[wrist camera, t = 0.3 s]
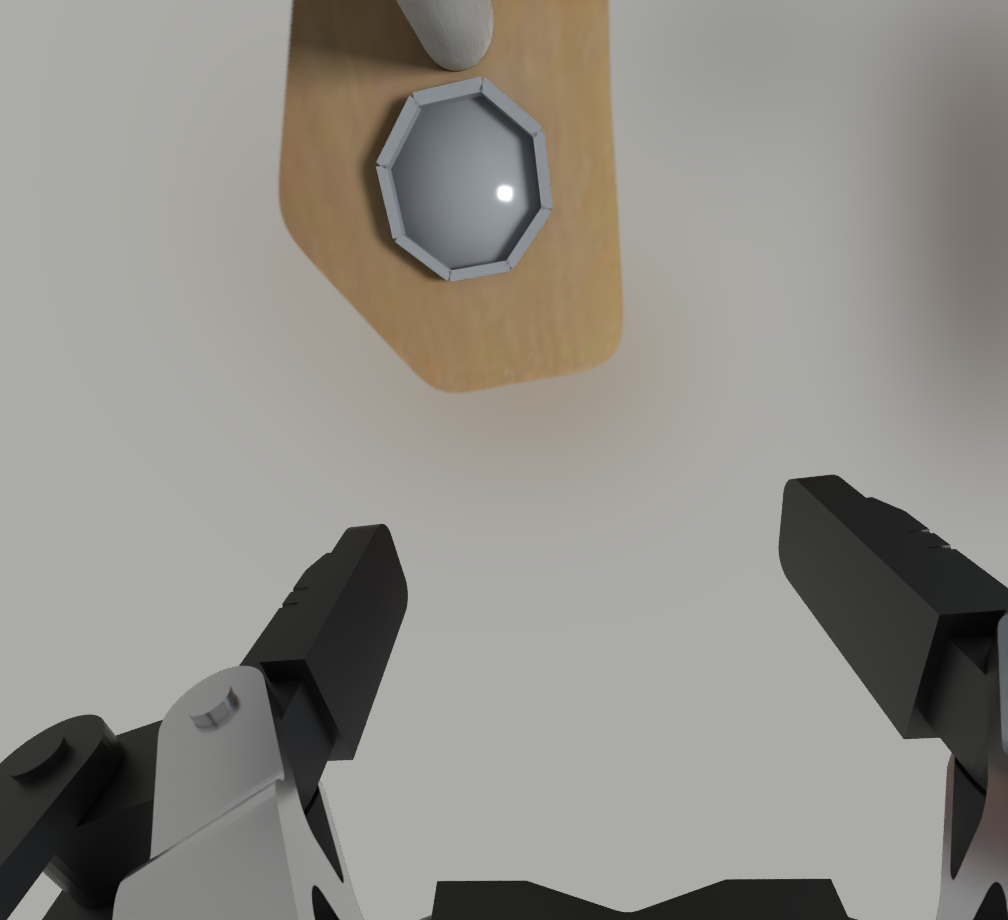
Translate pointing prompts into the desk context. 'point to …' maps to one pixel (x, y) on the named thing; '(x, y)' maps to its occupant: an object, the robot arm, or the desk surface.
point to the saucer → (465, 179)
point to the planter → (451, 29)
